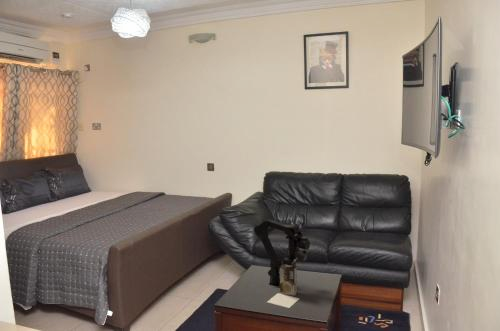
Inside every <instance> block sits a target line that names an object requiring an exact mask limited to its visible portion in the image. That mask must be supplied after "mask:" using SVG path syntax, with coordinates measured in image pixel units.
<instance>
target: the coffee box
mask: <svg viewBox="0 0 500 331" xmlns="http://www.w3.org/2000/svg"><path fill="white" fill-rule="evenodd" d="M297 269H298V268H297V265H296V266H293V265H282V266H281V267H280V285H279V290H280V291H279V293H280V294H284V295H288V296H292V297H296V294H297V292H298V279H297V277H298V276H297V275H298V274H297V272H298V271H297Z"/></svg>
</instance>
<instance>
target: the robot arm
mask: <svg viewBox="0 0 500 331" xmlns="http://www.w3.org/2000/svg"><path fill="white" fill-rule="evenodd" d="M270 228H272V229H275V230H278V231H280V232H283V233H284V234H285V235H286V236H285V237H284V238H285V240H286V239H287V243H288V244H287V246H288V247H287V249H286V250H287V251H288V252H287V255H286V257H284V258H283V259H282V258H279V257H278V256H277V253H276V251H275V249H274V246H273V245H272V242H271V240H270V238H269V229H270ZM253 231H254V234H255V235H256V237H258V239H259V240H261V242H262V245H263V247H264V250H265V251H266V255H267V256H268V259H269V261H270V262H269V267H270V269H269V270H268V271H267V274H268V276H269V283H268V285H271V286H275V287H280V267H281V266H282V265H293V266H297V264H298V262H300V261H301V262H305V261H306V260H307V257H308V250H309V248H310V247H311V242H310V240H309V238H308V237H304V235H303V233H302V232H301V230H300V228H299V226H298V225H296V224H286V223H283V222H280V221H276V220H273V219H272V218H269V219H265V220H264V221H263V222H262V223H260V224H258V225H256V226H255V225H254V229H253ZM300 249H302V250H300Z"/></svg>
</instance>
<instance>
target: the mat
mask: <svg viewBox="0 0 500 331" xmlns="http://www.w3.org/2000/svg"><path fill="white" fill-rule="evenodd" d="M299 300H300V298H299V297H296V296H292V295H284V294H280V292H277V293H275V295H274V296H272V297H271V298H270V299H269V300H268V301H266V303H267V304H272V305H275V306H279V307H282V308H286V309H290V308H292V307H293V306H294V305H295V304H296V303H297V302H298V301H299Z"/></svg>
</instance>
